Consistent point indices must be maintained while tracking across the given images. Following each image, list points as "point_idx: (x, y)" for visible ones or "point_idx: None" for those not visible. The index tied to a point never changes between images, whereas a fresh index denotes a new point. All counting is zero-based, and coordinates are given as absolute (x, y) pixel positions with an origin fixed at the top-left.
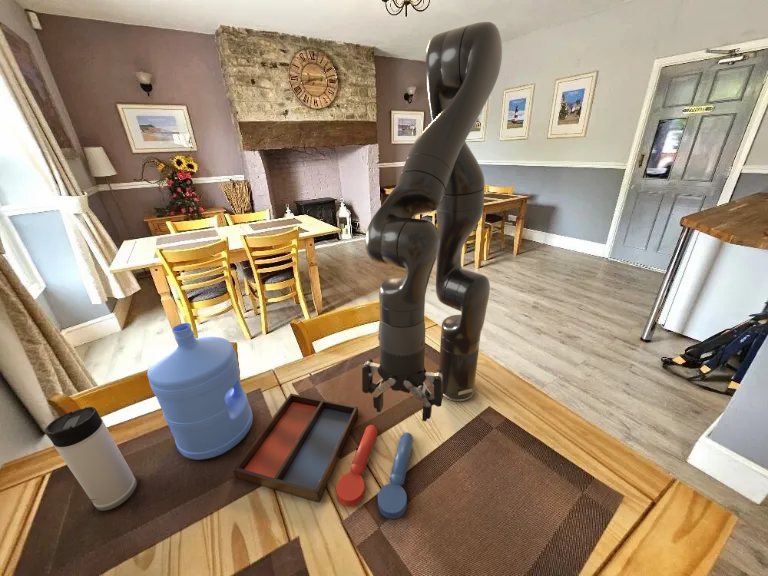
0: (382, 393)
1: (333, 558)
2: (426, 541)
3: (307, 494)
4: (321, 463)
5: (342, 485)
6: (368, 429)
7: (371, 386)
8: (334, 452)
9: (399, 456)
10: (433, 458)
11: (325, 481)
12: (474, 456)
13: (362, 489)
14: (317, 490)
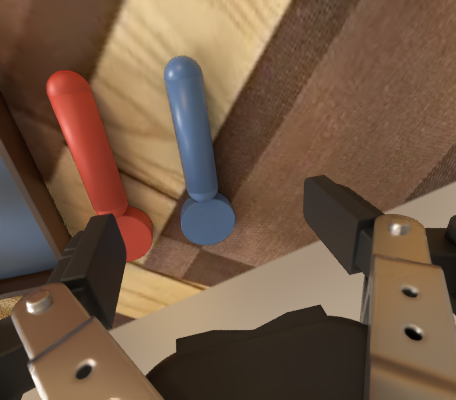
0: (95, 272)
1: (160, 299)
2: (272, 234)
3: None
4: (21, 218)
5: None
6: (61, 106)
7: (9, 384)
8: (31, 207)
9: (191, 152)
10: (258, 91)
11: None
12: (351, 44)
13: (149, 235)
14: None
